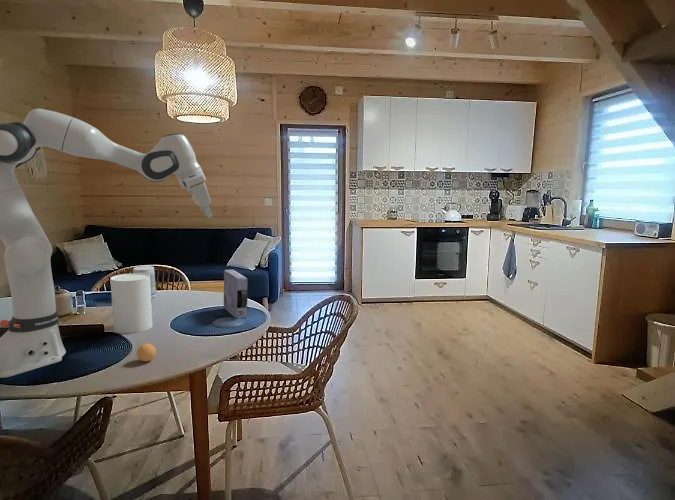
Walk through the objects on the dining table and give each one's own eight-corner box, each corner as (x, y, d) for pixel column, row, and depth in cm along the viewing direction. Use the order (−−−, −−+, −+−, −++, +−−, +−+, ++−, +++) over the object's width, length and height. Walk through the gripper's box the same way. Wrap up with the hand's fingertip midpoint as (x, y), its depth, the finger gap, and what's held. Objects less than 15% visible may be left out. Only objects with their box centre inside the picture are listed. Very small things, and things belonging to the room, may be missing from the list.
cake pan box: (248, 318, 178) (248, 277, 176) (237, 320, 176) (236, 278, 173) (233, 306, 194) (233, 268, 192) (223, 308, 192) (222, 269, 189)
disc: (232, 329, 164) (232, 329, 164) (205, 325, 169) (205, 324, 169) (251, 320, 176) (251, 319, 176) (225, 316, 181) (225, 315, 181)
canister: (108, 327, 165) (105, 276, 162) (144, 319, 174) (141, 271, 171) (121, 336, 155) (117, 282, 152) (158, 327, 165) (155, 277, 162)
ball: (146, 365, 131) (145, 348, 130) (133, 362, 133) (132, 345, 132) (160, 359, 136) (159, 342, 135) (147, 356, 138) (146, 339, 137)
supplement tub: (150, 293, 214) (149, 264, 212) (159, 297, 208) (158, 267, 206) (130, 297, 207) (129, 267, 204) (139, 301, 201) (137, 270, 198)
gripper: (181, 182, 156) (197, 217, 160) (185, 182, 138) (203, 222, 142) (197, 176, 158) (212, 211, 162) (204, 175, 140) (221, 214, 144)
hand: (208, 216), depth 152 cm, fingers open, 8 cm apart
